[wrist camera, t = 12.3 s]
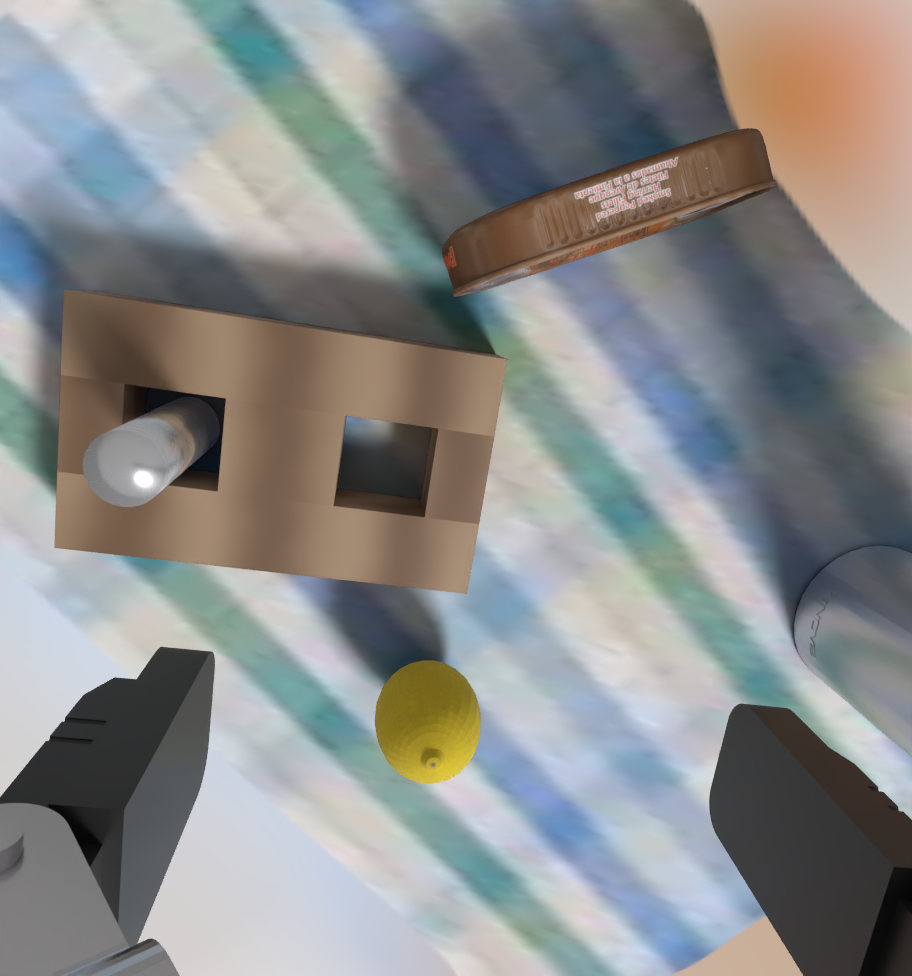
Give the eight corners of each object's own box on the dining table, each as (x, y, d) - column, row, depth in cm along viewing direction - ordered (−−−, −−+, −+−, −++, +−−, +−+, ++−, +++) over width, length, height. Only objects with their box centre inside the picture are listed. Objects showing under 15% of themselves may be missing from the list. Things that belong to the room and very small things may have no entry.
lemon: (358, 663, 42) (354, 745, 34) (445, 620, 42) (461, 693, 34) (401, 738, 43) (407, 833, 35) (486, 697, 43) (509, 784, 35)
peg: (222, 401, 37) (168, 436, 28) (217, 458, 38) (162, 511, 28) (161, 392, 37) (84, 424, 27) (157, 450, 38) (81, 501, 28)
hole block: (496, 354, 38) (507, 359, 35) (459, 569, 41) (466, 593, 38) (93, 290, 35) (63, 289, 32) (83, 526, 38) (54, 547, 35)
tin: (447, 302, 37) (466, 303, 29) (427, 240, 37) (442, 223, 28) (724, 211, 38) (819, 186, 30) (711, 147, 37) (805, 103, 29)
